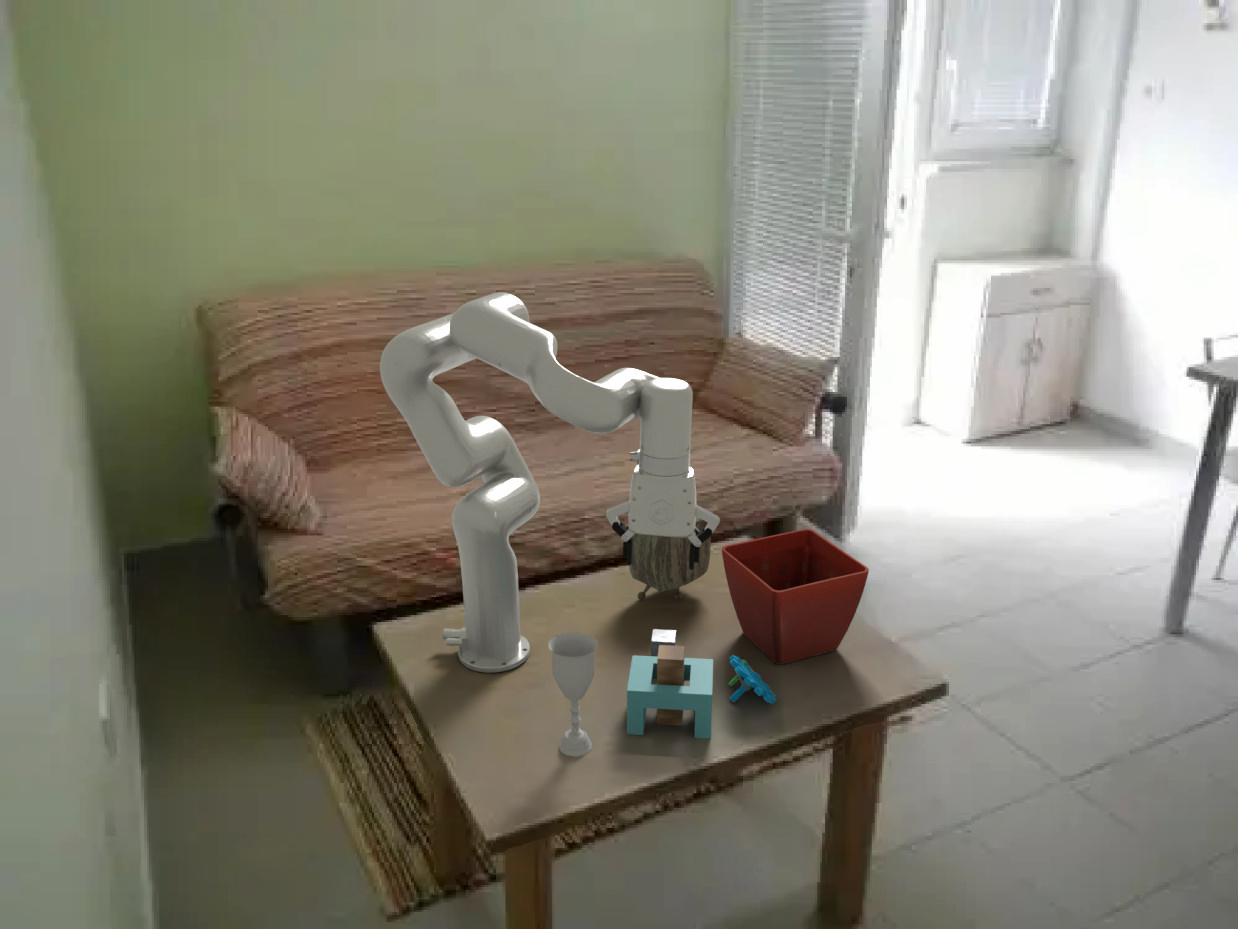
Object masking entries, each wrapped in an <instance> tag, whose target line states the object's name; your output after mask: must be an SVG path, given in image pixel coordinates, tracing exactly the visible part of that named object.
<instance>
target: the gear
mask: <svg viewBox="0 0 1238 929" xmlns="http://www.w3.org/2000/svg"><path fill="white" fill-rule="evenodd" d="M728 659H729V660H730V662H729V663H730V665H731V666H732V667H734V671H735V673H736V675H735V676H734V677H733V678H732V679H731V680H730V681H729V682H728V685H729V686H730V687H732V686H733V685H734V684H736V682H738V681H740V683H741V686H740V687H739V688H738V689H737V690H736V691H735V692H734V693H733V694H732V695H731V696H730V697H729V700H730V701H732V703H735V702H736V701H737V700H738V699H739V698H741V696H742V695H743V694H744V693H745V692H746V691H750V690H751V689H752V688H754V690H753V691H754V693H755V694H756V695H757V696H759V697H761V696H762V698H763V700H764V701H766V703H769V704H772V705H773V704H775V702H776V701H777V698H776V694H775V693H774V692H773V691H772V690H771V687H770V685H769V684H767V683H766V682H764V680H762V679H763V678H762V677H761V675H760V674H759V673H758V672H755V671H754V670H753V668H752V667H751V666H750V665H749V663H748V662H747V660H746V659H744V658H743V659H741V657H739V656H735V655H734V654H732V655H731V656H729V658H728Z"/></svg>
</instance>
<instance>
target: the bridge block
mask: <svg viewBox="0 0 1238 929" xmlns="http://www.w3.org/2000/svg"><path fill="white" fill-rule="evenodd" d="M631 657H632V658H631V663H630V670H629V676H628V682H627V687H626V688H627V689H626V690H627V691H626V717H627V718H626V722H627V723H626V727H627V728H626V733H627V735H635V736H636V735H638V736H644V731H645V725H646V724H645V723H646V714H647V709H655V710H657V709H674V710H683V711H692V712H693V711H694V712H695V714H694V715H695V716H694V738H696V739H712V712H713V676H714V675H713V674H714V673H713V672H714V659H713V658H699V657H698V658H697V657H696V658H695V657H684V682H689V685H684V686H675V685H657V684H656V683H655V684H653V683H654V680H657V658H658V657H656V656H650V655H634V654H633V655H632V656H631Z"/></svg>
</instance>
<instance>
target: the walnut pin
mask: <svg viewBox="0 0 1238 929" xmlns="http://www.w3.org/2000/svg"><path fill="white" fill-rule="evenodd" d="M684 658H685V645H683V646H682V645H676V646H669V645H659V650H658V658H657V679H656V685H675V686H685V681H684ZM683 717H684V710H674V709H656V725H665V726H666V725H668V726H669V725H670V726H683V720H684V719H683Z"/></svg>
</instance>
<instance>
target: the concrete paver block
mask: <svg viewBox="0 0 1238 929" xmlns="http://www.w3.org/2000/svg"><path fill="white" fill-rule="evenodd" d="M650 641H651V644H650V646H651V647H650V649H651V650H650V651H651V652H650V653H651V656H656V657H658V650H659V645H669V646H677V630H676V629H657V628H653V629H652V635H651V640H650Z"/></svg>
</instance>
